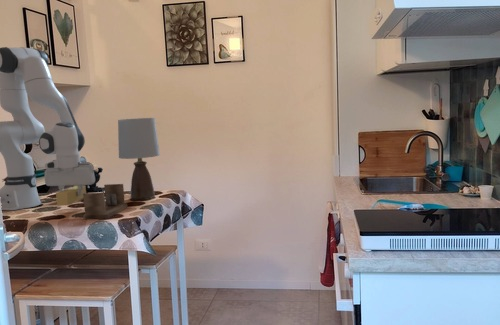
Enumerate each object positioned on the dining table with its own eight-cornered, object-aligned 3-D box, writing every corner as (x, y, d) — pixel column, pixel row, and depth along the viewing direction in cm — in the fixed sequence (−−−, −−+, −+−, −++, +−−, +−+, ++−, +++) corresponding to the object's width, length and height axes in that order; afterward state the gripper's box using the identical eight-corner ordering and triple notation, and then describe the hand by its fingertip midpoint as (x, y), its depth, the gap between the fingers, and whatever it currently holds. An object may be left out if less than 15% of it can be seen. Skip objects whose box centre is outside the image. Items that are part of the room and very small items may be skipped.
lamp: (153, 201, 208) (147, 118, 204) (115, 201, 212) (108, 120, 208) (168, 193, 226) (163, 117, 222) (133, 193, 230) (127, 118, 226)
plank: (57, 205, 184) (55, 193, 183) (76, 197, 200) (75, 185, 199) (67, 205, 183) (66, 192, 183) (86, 197, 199) (85, 185, 198)
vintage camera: (101, 200, 220) (99, 158, 218) (71, 199, 223) (69, 158, 221) (110, 196, 230) (109, 156, 227) (82, 195, 232) (80, 156, 230)
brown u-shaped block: (83, 219, 181) (80, 193, 180) (105, 207, 201) (103, 184, 200) (107, 218, 180) (105, 193, 178) (127, 206, 200) (125, 183, 199)
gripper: (96, 160, 191) (99, 193, 193) (49, 162, 194) (52, 195, 195) (89, 162, 185) (92, 197, 187) (41, 164, 187) (44, 198, 189)
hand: (71, 196), depth 191 cm, fingers closed on plank, 4 cm apart
